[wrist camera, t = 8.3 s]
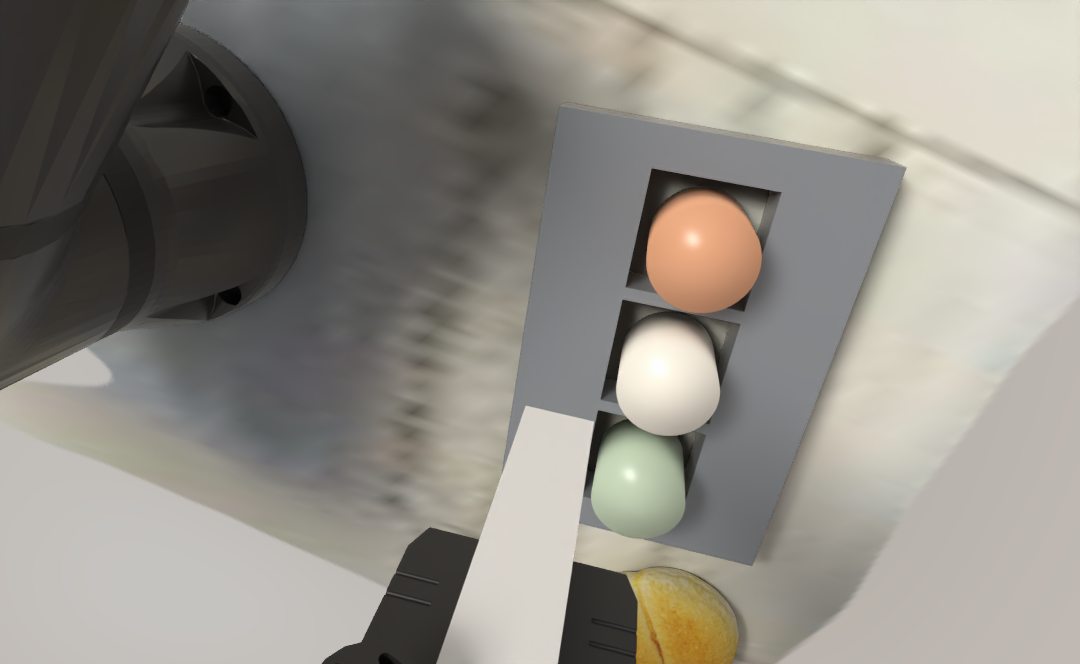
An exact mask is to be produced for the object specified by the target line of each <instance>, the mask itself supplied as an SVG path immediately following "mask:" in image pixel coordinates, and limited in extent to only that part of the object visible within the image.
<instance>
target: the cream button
mask: <svg viewBox="0 0 1080 664" xmlns="http://www.w3.org/2000/svg"><path fill="white" fill-rule="evenodd" d="M616 395H617V400H618V403H619V406H620V408H621V410H622V411H623V413H624V415H625V416H626V417H627V418H628V419H629V420H630V421H631V422H632V423H633V424H635V425H636V426H637V427H639V428H641V429H642V430H645V431H647V432H649V433H653V434H656V435H662V436H676V435H682V434H685V433H689V432H691V431H694V430H695V429H697V428H699V427H701V426H702V425H703V424H705V423H706V422H707V421H708V420H709V419H710V417H711V416H712V415H713V413H714V412H715V410H716V408H717V405H718V402H719V398H720V385H719V379H718V373H717V367H716V360H715V354H714V348H713V344H712V340H711V338H710V336H709V334H708V332H707V331H706V329H705V328H704V327H703V326H702V325H701V324H700V323H699V322H698V321H696V320H695V319H693V318H691V317H690V316H687V315H685V314H682V313H678V312H667V311H665V312H658V313H653V314H650V315H648V316H646V317H644V318H642V319H640V320H639V321H638V322H636V323H635V324H634V325H633V326H632V327H631V328H630V330H629V331H628V333H627V334H626V337H625V339H624V342H623V346H622V353H621V359H620V366H619V372H618V379H617V385H616Z"/></svg>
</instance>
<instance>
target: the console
mask: <svg viewBox="0 0 1080 664" xmlns="http://www.w3.org/2000/svg"><path fill="white" fill-rule="evenodd" d="M652 168H653V169H659V170H664V171H669V172H675V173H680V174H686V175H691V176H696V177H702V178H707V179H713V180H718V181H723V182H729V183H734V184H740V185H745V186H750V187H756V188H761V189H767V190H770V193H769V197H768V200H767V203H766V207H765V210H764V213H763V217H762V220H761V223H760V226H759V230H758V233H757V236H758V239H759V242H760V246H761V252H762V261H761V268H760V272H759V275H758V277H757V280H756V281H755V283H754V285H753V286H752V288H751V289H750V291H749V292H748V293H747V294H746V295H745V296H744V297H743V298H742V299H740V300H739V301H738V302H736V303H735V304H733V305H732V306H729V307H727V308H725V309H722V310H720V311H716V312H711V313H692V312H687V311H684V310H681V309H678V308H676V307H674V306H672V305H670V304H669V303H668V302H666V301H665V300H664V299H663V298H662V297H661V296H660V295H659V294H658V293H657V292H656V291H655V289H654V287H653V286H652V284H651V282H650V279H649V276H648V275H643V274H638V273H633V272H629V268H630V264H631V259H632V255H633V250H634V246H635V241H636V237H637V232H638V228H639V223H640V219H641V214H642V210H643V205H644V201H645V196H646V192H647V187H648V183H649V178H650V174H651V169H652ZM906 168H907V167H904V166H902V165H900V164H898V163H895V162H893V161H891V160H889V159H885V158H879V157H873V156H868V155H862V154H856V153H851V152H845V151H839V150H834V149H828V148H822V147H817V146H811V145H805V144H800V143H794V142H789V141H783V140H777V139H772V138H766V137H760V136H755V135H749V134H743V133H738V132H732V131H726V130H721V129H715V128H709V127H704V126H698V125H692V124H687V123H681V122H676V121H670V120H664V119H659V118H653V117H647V116H642V115H636V114H630V113H625V112H619V111H613V110H608V109H602V108H596V107H591V106H585V105H579V104H574V103H568V102H567V103H564V104H562V105H559V108H558V115H557V121H556V128H555V134H554V141H553V147H552V154H551V160H550V166H549V173H548V179H547V186H546V192H545V199H544V205H543V211H542V218H541V224H540V231H539V237H538V244H537V250H536V256H535V263H534V269H533V276H532V282H531V289H530V295H529V302H528V308H527V314H526V321H525V327H524V334H523V340H522V347H521V353H520V359H519V366H518V372H517V379H516V385H515V392H514V398H513V404H512V411H511V417H510V424H509V430H508V437H507V443H506V449H505V456H504V462H503V469H502V473H503V470H504V467H505V464H506V461H507V458H508V455H509V453H510V450H511V447H512V444H513V441H514V438H515V435H516V432H517V430H518V427H519V424H520V421H521V418H522V415H523V412H524V409H525V406H530V407H534V408H538V409H543V410H547V411H551V412H555V413H560V414H564V415H568V416H573V417H577V418H581V419H585V420H590V421H594V425H593V430H594V426H595V421H596V417H597V412H598V410H600V411H604V412H609V413H613V414H618V415H622V416H625V415H624V413H623V411H622V410H621V408H620V406H619V403H618V400H617V395H616V385H617V380H612V379H608V378H605V376H606V372H607V367H608V363H609V358H610V354H611V349H612V345H613V340H614V336H615V331H616V327H617V322H618V318H619V313H620V309H621V304H622V300H628V301H632V302H637V303H642V304H647V305H652V306H656V307H661V308H666V309H671V310H676V311H680V312H685V313H690V314H695V315H700V316H704V317H709V318H714V319H719V320H724V321H728V322H730V325H729V328H728V332H727V335H726V338H725V342H724V345H723V348H722V351H721V355H720V358H719V361H718V365H717V373H718V379H719V385H720V398H719V402H718V405H717V408H716V410H715V412H714V413H713V415H712V416H711V417H710V419H709V420H708V421H707V422H706V423H705V424H703V425H702V426H701V427H699V428H697V429H695V430H694V431H692V432H697V434H696V437H695V440H694V444H693V447H692V450H691V453H690V457H689V460H688V463H687V467H686V470H685V473H684V481H685V510H684V514H683V516H682V518H681V520H680V522H679V523H678V524H677V525H676V526H675V527H674V528H673V529H672V530H670V531H669V532H667V533H665V534H663V535H660V536H658V537H653V538H647V539H645V540H649V541H653V542H657V543H661V544H665V545H669V546H673V547H677V548H681V549H685V550H689V551H693V552H697V553H701V554H705V555H710V556H714V557H718V558H722V559H726V560H730V561H734V562H738V563H742V564H746V565H750V566H752V565H753V563H754V560H755V557H756V555H757V552H758V550H759V547H760V545H761V542H762V539H763V537H764V534H765V532H766V529H767V526H768V524H769V521H770V519H771V516H772V514H773V511H774V508H775V506H776V503H777V501H778V498H779V496H780V493H781V490H782V488H783V485H784V483H785V480H786V478H787V475H788V472H789V470H790V467H791V465H792V462H793V459H794V457H795V454H796V452H797V449H798V447H799V444H800V441H801V439H802V436H803V434H804V431H805V429H806V426H807V423H808V421H809V418H810V416H811V413H812V411H813V408H814V405H815V403H816V400H817V398H818V395H819V392H820V390H821V387H822V385H823V382H824V380H825V377H826V374H827V372H828V369H829V367H830V364H831V362H832V359H833V356H834V354H835V351H836V349H837V346H838V344H839V341H840V338H841V336H842V333H843V331H844V328H845V325H846V323H847V320H848V318H849V315H850V313H851V310H852V307H853V305H854V302H855V300H856V297H857V295H858V292H859V289H860V287H861V284H862V282H863V279H864V277H865V274H866V271H867V269H868V266H869V264H870V261H871V258H872V256H873V253H874V251H875V248H876V246H877V243H878V240H879V238H880V235H881V233H882V230H883V228H884V225H885V222H886V220H887V217H888V215H889V212H890V210H891V207H892V204H893V202H894V199H895V197H896V194H897V191H898V189H899V186H900V184H901V181H902V179H903V176H904V173H905V171H906ZM592 435H593V432H592ZM594 475H595V472H593V471H589V470H587V472H586V479H585V485H584V492H583V499H582V505H581V512H580V519H579V523H580V524H584V525H588V526H592V527H596V528H601V529H605V530H609V531H612V530H611V529H609V528H608V527H606V526H605V525H604V524H603V523H602V522H601V521H600V520H599V518H598V517H597V515H596V514H595V512H594V510H593V507H592V502H591V492H592V486H593V481H594ZM501 476H502V475H501ZM613 532H614V531H613Z"/></svg>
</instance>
